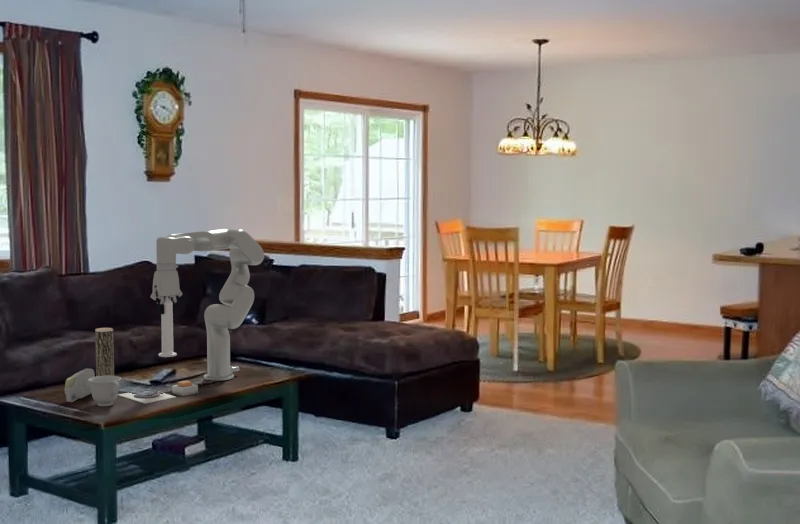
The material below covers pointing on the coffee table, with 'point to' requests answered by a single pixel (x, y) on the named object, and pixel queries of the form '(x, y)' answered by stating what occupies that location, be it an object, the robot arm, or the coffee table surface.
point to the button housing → (185, 390)
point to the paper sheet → (146, 397)
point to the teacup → (105, 389)
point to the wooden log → (104, 351)
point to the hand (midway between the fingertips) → (166, 312)
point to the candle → (167, 329)
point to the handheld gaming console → (78, 385)
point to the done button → (185, 383)
